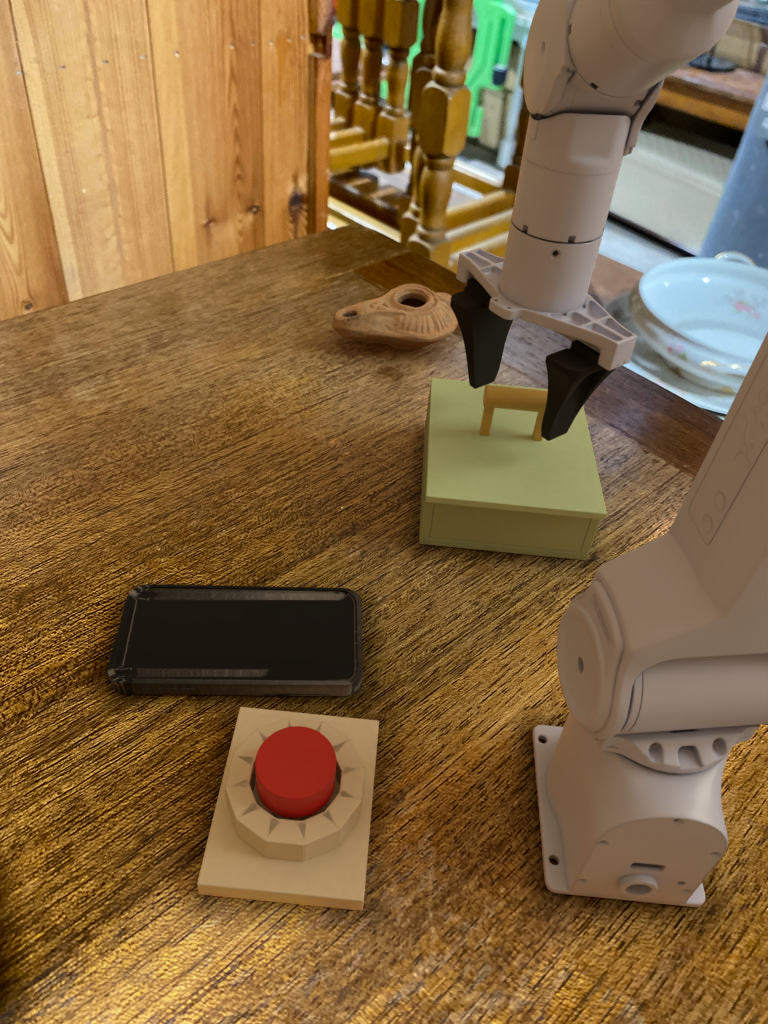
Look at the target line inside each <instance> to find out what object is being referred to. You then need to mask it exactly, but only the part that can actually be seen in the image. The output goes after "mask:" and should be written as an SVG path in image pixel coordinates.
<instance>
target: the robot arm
mask: <svg viewBox="0 0 768 1024" xmlns="http://www.w3.org/2000/svg"><path fill="white" fill-rule="evenodd" d="M740 2H741V0H540V1H539V2H538V4H537V7H536V8H535V11H534V14H533V16H532V20H531V23H530V26H529V30H528V34H527V38H526V39H527V40H526V45H525V53H524V61H523V80H522V81H523V83H522V84H523V97H524V102H525V105H526V109H527V111H528V112H529V117H528V121H527V122H528V123H527V127H526V134H525V139H524V145H523V150H522V155H521V162H520V167H519V174H518V179H517V183H516V190H515V195H514V200H513V206H512V213H511V218H510V223H509V229H508V234H507V240H506V246H505V251H504V252H505V253H504V255H503V256H504V257H502V256H499V255H497V254H493V253H491V252H489V251H487V250H485V249H483V248H480V247H478V248H473V249H470V250H466V251H462V252H459V254H458V259H457V260H458V261H457V268H456V273H455V274H456V275H455V279H456V280H458V281H459V282H461V283H462V284H465V285H466V286H464V287H463V290H461V291H458V292H455V293H453V294H452V295H451V296H452V297H451V302H450V306H451V308H452V310H453V312H454V314H455V316H456V319H457V321H458V324H457V325H458V326H459V330H460V333H461V338H462V341H463V345H464V350H465V358H466V365H467V374H468V381H469V384H470V386H471V387H473V388H474V389H476V388H479V387H482V386H484V385H487V384H490V383H491V384H493V383H494V382H496V380H497V379H496V378H497V376H498V374H499V371H500V367H501V363H502V360H503V355H504V349H505V346H506V341H507V338H508V336H509V332H510V329H511V327H512V324H513V322H514V320H517V319H519V320H522V321H525V322H528V323H531V324H534V325H537V326H540V327H542V328H545V329H548V330H551V331H553V332H554V333H557V334H558V335H560V336H561V337H563V338H564V339H566V340H568V341H570V342H571V344H570V347H569V348H567V347H566V348H564V349H560V350H558V351H555V352H553V353H549V354H547V355H546V356H545V360H544V361H545V366H546V367H545V368H546V373H547V389H548V394H547V403H546V407H545V412H544V416H543V420H542V425H541V436H542V437H543V438H544V439H546V440H547V441H550V440H552V439H555V438H557V437H559V436H561V435H563V434H566V433H567V432H568V430H569V428H570V426H571V424H572V422H573V421H574V419H575V417H576V416H577V414H578V412H579V411H580V409H581V408H582V406H584V405H585V404H586V402H587V400H588V399H589V398H590V397H591V395H592V394H593V393H594V392H595V391H596V390H597V389H598V387H600V385H602V383H603V382H604V381H605V380H606V379H607V378H608V377H610V375H611V374H612V373H613V372H614V371H615V370H616V369H618V368H620V367H623V366H624V365H627V364H629V363H630V362H631V358H632V356H633V352H634V350H635V346H636V344H637V341H638V337H639V336H638V335H637V334H636V333H634V332H632V331H631V330H629V329H627V328H626V327H625V326H623V325H622V324H621V323H620V322H618V321H617V320H616V319H615V318H614V317H613V315H611V313H609V312H608V311H607V310H606V309H605V308H604V307H603V306H602V305H601V304H600V303H599V302H598V301H597V300H595V298H594V297H593V296H591V295H590V294H589V289H590V285H591V281H592V278H593V274H594V270H595V266H596V262H597V259H598V255H599V251H600V247H601V243H602V239H603V235H604V231H605V228H606V224H607V220H608V216H609V212H610V208H611V204H612V200H613V197H614V193H615V188H616V185H617V181H618V177H619V174H620V170H621V167H622V163H623V159H624V157H626V156H628V155H632V153H633V150H634V148H636V147H637V144H638V140H639V136H640V132H641V130H642V126H643V124H644V121H645V120H646V118H647V117H648V115H649V113H650V112H651V111H652V109H653V108H654V105H656V103H657V100H658V99H659V97H660V93H661V91H662V88H663V86H664V83H665V79H666V78H668V77H669V76H670V75H672V74H674V73H675V72H677V71H678V70H680V69H681V68H683V67H684V66H686V65H688V64H689V63H690V62H692V61H694V60H696V59H697V58H698V57H700V56H702V55H703V54H705V53H706V52H708V51H709V50H711V49H712V48H713V47H714V46H716V44H717V43H718V42H719V41H720V40H721V39H722V38H723V37H724V36H725V34H727V31H728V30H729V29H730V27H731V25H732V23H733V21H734V19H735V17H736V15H737V12H738V8H739V6H740ZM570 601H571V602H570V603H569V604H568V605H567V607H566V609H565V611H564V612H563V614H562V617H560V618H561V619H560V621H559V625H558V630H557V636H556V665H557V673H558V679H559V684H560V689H561V693H562V696H563V699H564V702H565V704H566V707H567V710H568V711H569V712H568V715H567V716H566V719H565V722H564V725H563V726H558V725H547V724H537V725H536V726H534V727H533V729H532V734H531V735H532V747H533V758H534V760H533V761H534V772H535V782H536V783H535V784H536V796H537V805H538V806H537V807H538V816H539V817H538V820H539V830H540V839H541V840H540V842H541V843H540V844H541V853H542V867H543V868H542V869H543V877H544V878H543V879H544V885H545V887H546V888H547V890H548V891H550V892H551V893H554V894H561V895H571V896H581V897H590V898H591V897H592V898H599V899H602V898H603V899H611V900H620V901H629V902H630V901H631V902H640V903H650V904H659V905H660V904H661V905H668V906H669V905H672V906H679V907H689V908H699V907H701V906H702V905H703V904H704V903H705V901H706V893H705V888H704V885H703V882H704V881H705V879H707V877H708V876H709V874H710V873H711V872H712V871H713V869H714V868H715V867H716V865H718V863H719V862H720V860H721V859H722V858H723V857H724V855H725V854H726V853H727V851H728V847H729V837H728V831H727V826H726V822H725V816H724V811H723V805H722V803H723V802H722V783H723V776H724V770H725V766H726V763H727V760H728V757H729V755H730V753H731V750H732V749H733V748H734V747H735V746H736V745H738V744H740V743H743V742H747V741H750V740H751V739H752V737H753V736H754V734H755V733H756V732H757V730H758V729H759V727H760V726H761V725H764V726H765V725H766V726H768V331H767V332H766V334H765V336H764V339H763V340H762V342H761V344H760V347H759V348H758V350H757V352H756V354H755V356H754V359H753V361H752V362H751V365H750V366H749V369H748V371H747V372H746V375H745V377H744V379H743V380H742V382H741V385H740V387H739V389H738V391H737V393H736V395H735V397H734V399H733V401H732V403H731V405H730V407H729V409H728V411H727V413H726V415H725V416H724V419H723V421H722V423H721V425H720V427H719V429H718V431H717V433H716V435H715V437H714V439H713V441H712V443H711V445H710V447H709V449H708V451H707V453H706V455H705V457H704V459H703V461H702V463H701V465H700V468H699V469H698V471H697V473H696V475H695V477H694V480H693V481H692V483H691V485H690V488H689V490H688V491H687V493H686V496H685V497H684V500H683V501H682V504H681V505H680V507H679V509H678V511H677V513H676V516H675V518H674V520H673V522H672V524H671V526H670V528H669V530H668V531H667V532H665V533H663V534H662V535H660V536H658V537H656V538H655V539H652V540H650V541H648V542H646V543H644V544H642V545H640V546H637V547H635V548H632V549H631V550H628V551H626V552H624V553H622V554H620V555H619V556H616V557H614V558H613V559H610V560H609V561H607V562H605V563H603V564H601V565H599V566H598V567H597V569H596V571H595V573H594V576H593V578H592V580H591V582H590V584H589V585H588V587H587V589H585V591H583V592H580V593H579V594H576V595H575V597H573V598H572V600H570ZM540 740H543V741H544V743H543V742H541V741H540ZM550 859H553V860H554V861H556V863H557V864H552V862H550Z"/></svg>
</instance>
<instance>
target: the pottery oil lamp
mask: <svg viewBox="0 0 768 1024" xmlns="http://www.w3.org/2000/svg"><path fill="white" fill-rule="evenodd" d="M451 297H452V295H451V294H449V293H447V292H441V291H438V292H435V291H433V290H432V289H430V288H429V287H427V286H425V285H422V284H419V283H403V284H401V285H398V286H396V287H394V288H391V289H390V290H389V291H387V292H386V293H385V294H383V295H381V296H379V297H376V298H373V299H368V300H364V301H360V302H358V303H355V304H353V305H352V304H351V305H348V306H344V307H342V308H340V309H337V311H335V312H334V315H333V317H332V320H331V324H330V325H331V328H332V329H333V330H334V332H335V333H337V335H339V336H340V337H342V338H344V339H347V340H351V341H355V342H361V343H362V342H364V343H372V344H386V345H387V346H389V347H391V348H394V349H396V350H397V349H398V350H408V351H409V350H417V349H420V348H422V347H426V346H429V345H432V344H434V343H437V342H440V341H442V340H443V339H445V338H448V337H450V336H451V335H452V334H453V333H455V331H456V329H457V327H458V325H459V324H458V321H457V319H456V316H455V314H454V312H453V310H452V308H451V306H450V302H451Z"/></svg>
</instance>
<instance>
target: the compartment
mask: <svg viewBox="0 0 768 1024" xmlns="http://www.w3.org/2000/svg"><path fill="white" fill-rule="evenodd" d="M430 386H431V384H430V385H429V387H430ZM429 408H430V391H429V392H428V401H427V407H426V417H425V424H424V432H423V433H424V435H423V450H422V451H423V452H422V453H423V455H422V470H421V472H422V473H421V493H420V511H419V532H418V544H419V545H427V546H437V547H445V548H446V547H448V548H456V549H457V548H458V549H466V550H467V549H468V550H476V551H477V550H478V551H486V552H487V551H488V552H496V553H497V552H499V553H507V554H508V553H509V554H517V555H527V556H539V557H548V558H557V559H558V558H559V559H566V560H567V559H569V560H578V561H587V560H588V558H589V555H590V552H591V549H592V546H593V543H594V540H595V538H596V535H597V531H598V529H599V525H600V524H601V519H591V518H581V517H571V516H561V515H550V514H540V513H530V512H520V511H510V510H500V509H489V508H479V507H469V506H459V505H449V504H439V503H429V502H425V497H426V475H427V452H428V430H429Z"/></svg>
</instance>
